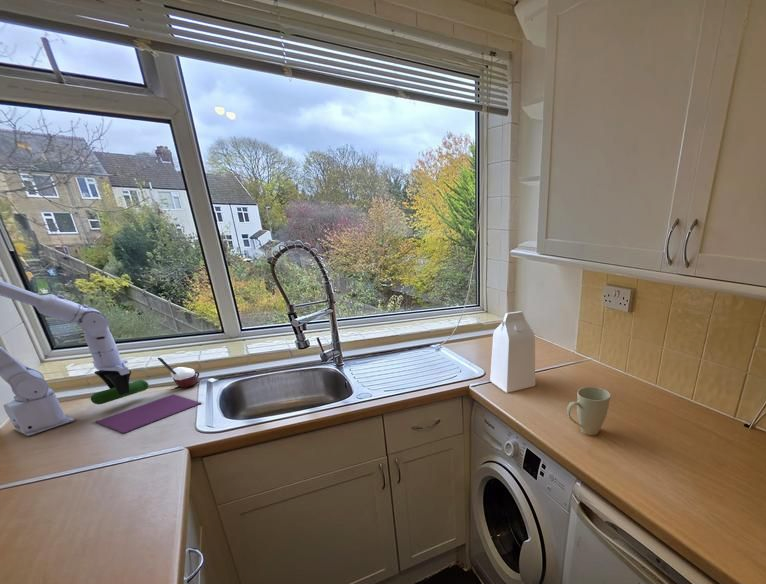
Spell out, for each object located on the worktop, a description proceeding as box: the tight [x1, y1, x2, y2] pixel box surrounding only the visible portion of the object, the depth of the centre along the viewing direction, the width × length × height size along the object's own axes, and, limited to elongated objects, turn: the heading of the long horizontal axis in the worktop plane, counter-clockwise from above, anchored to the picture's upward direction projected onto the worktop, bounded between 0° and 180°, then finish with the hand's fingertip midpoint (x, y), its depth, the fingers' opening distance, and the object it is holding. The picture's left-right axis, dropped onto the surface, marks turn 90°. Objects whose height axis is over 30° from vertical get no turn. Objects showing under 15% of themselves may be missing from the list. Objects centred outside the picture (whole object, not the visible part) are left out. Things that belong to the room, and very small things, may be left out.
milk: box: [489, 310, 536, 394], centre depth 141 cm, size 12×12×26 cm
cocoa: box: [157, 357, 200, 389], centre depth 136 cm, size 10×6×12 cm, turn 137°
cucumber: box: [90, 379, 149, 405], centre depth 124 cm, size 14×4×4 cm, turn 156°
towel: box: [95, 394, 202, 434], centre depth 121 cm, size 20×14×1 cm
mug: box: [566, 386, 611, 436], centre depth 113 cm, size 11×10×12 cm
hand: (121, 392), depth 124 cm, fingers closed on cucumber, 3 cm apart
